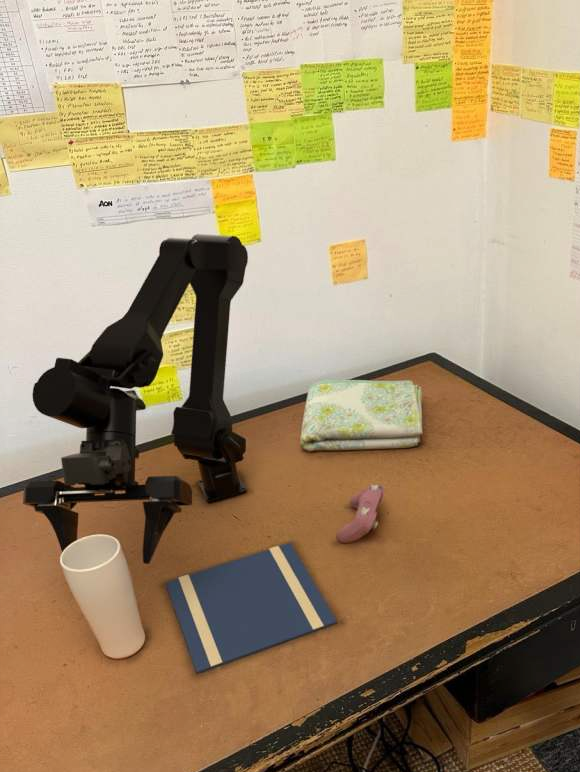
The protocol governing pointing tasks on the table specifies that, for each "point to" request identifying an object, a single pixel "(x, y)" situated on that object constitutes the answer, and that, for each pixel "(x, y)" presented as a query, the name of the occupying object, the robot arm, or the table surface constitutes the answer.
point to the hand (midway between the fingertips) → (108, 565)
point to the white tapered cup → (104, 593)
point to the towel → (362, 415)
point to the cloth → (247, 606)
